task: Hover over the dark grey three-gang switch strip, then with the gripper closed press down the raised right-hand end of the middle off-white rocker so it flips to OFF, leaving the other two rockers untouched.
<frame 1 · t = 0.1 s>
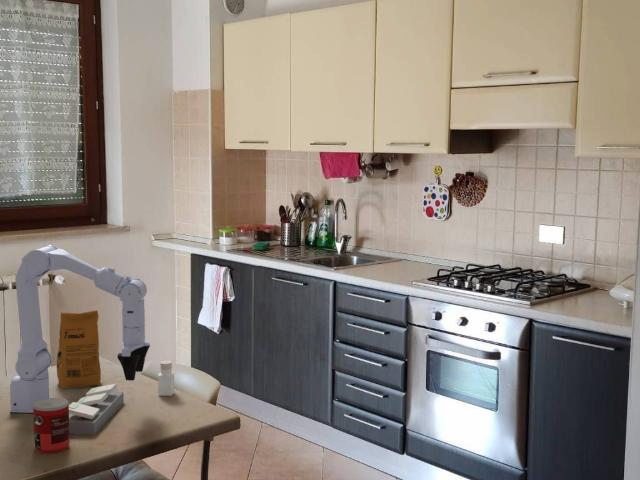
hand: (134, 375, 211), 10 cm above the table, tool pointing down, fingers open, 7 cm apart
pepper shaker: (166, 395, 227), on the table
canned food: (52, 448, 188), on the table
rocker 1: (82, 412, 200), point 4 cm above the table, hinge at 13.0°
coffee package: (79, 384, 236), on the table
rocker 2: (92, 401, 208), point 4 cm above the table, hinge at -13.0°
rocker 3: (102, 392, 216), point 4 cm above the table, hinge at -13.0°
switch strip: (92, 416, 208), on the table
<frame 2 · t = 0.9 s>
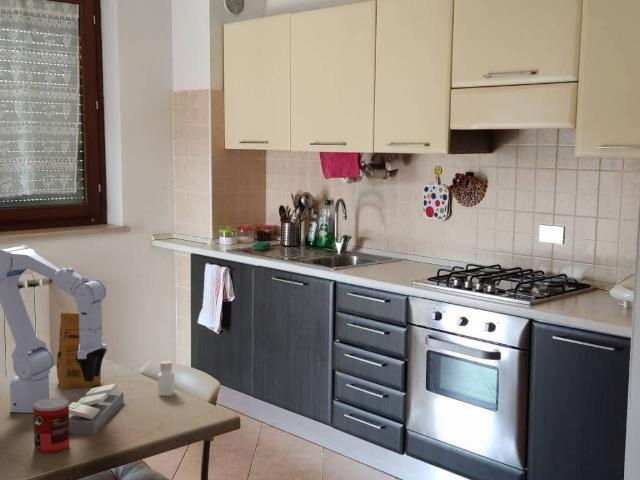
hand: (92, 378, 207), 10 cm above the table, tool pointing down, fingers open, 4 cm apart
nothing on the table moved.
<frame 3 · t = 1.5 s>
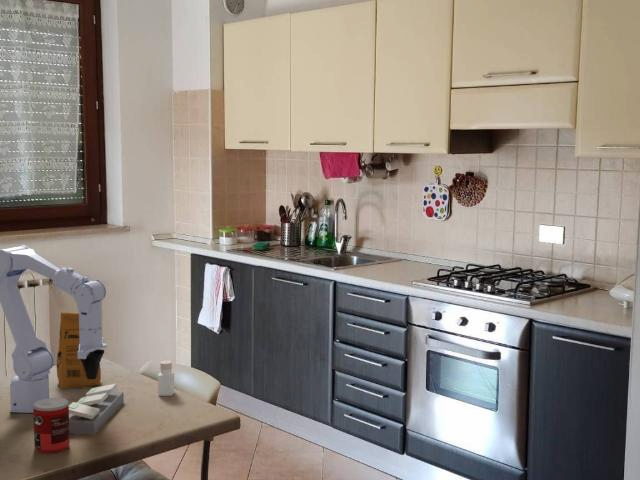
hand: (92, 378, 207), 10 cm above the table, tool pointing down, fingers closed
nothing on the table moved.
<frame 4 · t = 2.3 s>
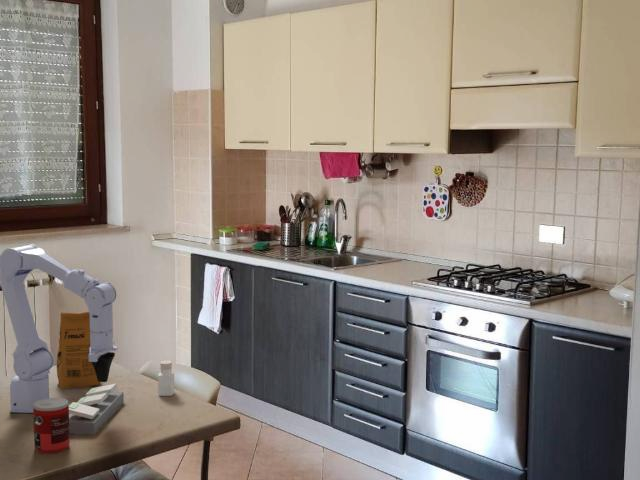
hand: (102, 381, 207), 10 cm above the table, tool pointing down, fingers closed
nothing on the table moved.
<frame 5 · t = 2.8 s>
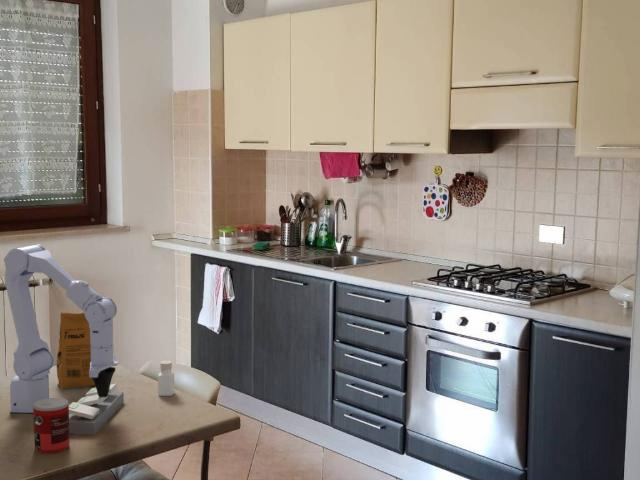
hand: (103, 396, 207), 6 cm above the table, tool pointing down, fingers closed, pressing on rocker 2
rocker 2: (92, 401, 208), point 4 cm above the table, hinge at -12.9°, touching gripper
everything else where it was.
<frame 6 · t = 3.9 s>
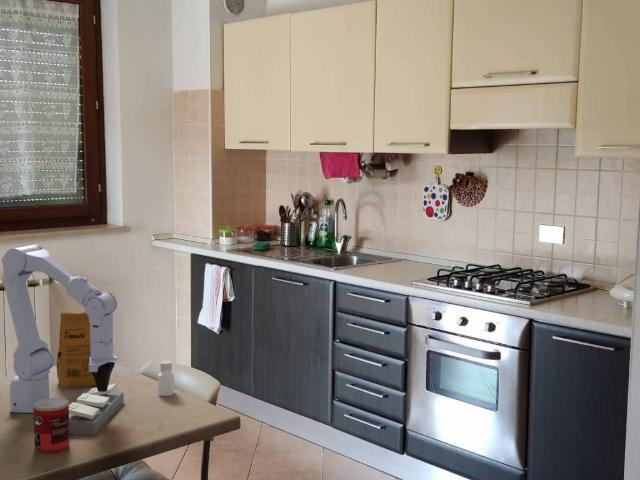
hand: (102, 390, 207), 7 cm above the table, tool pointing down, fingers closed
rocker 2: (92, 401, 208), point 4 cm above the table, hinge at 8.3°
everything else where it was.
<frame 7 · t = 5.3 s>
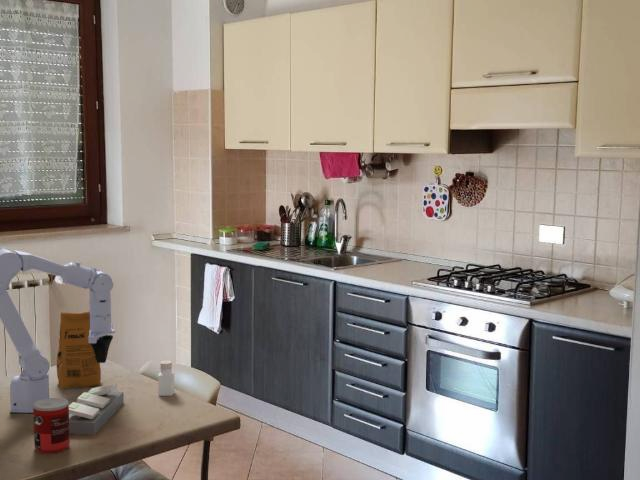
hand: (101, 362, 222), 10 cm above the table, tool pointing down, fingers closed
rocker 2: (93, 401, 208), point 4 cm above the table, hinge at 12.6°
everything else where it was.
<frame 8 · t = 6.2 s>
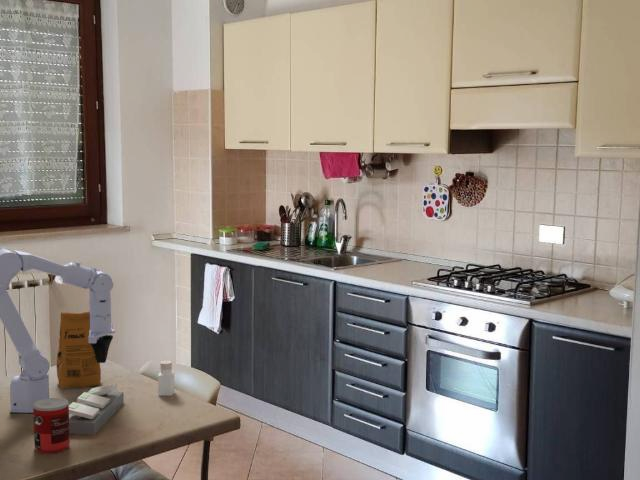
hand: (101, 362, 222), 10 cm above the table, tool pointing down, fingers closed
rocker 2: (93, 401, 208), point 4 cm above the table, hinge at 13.2°
everything else where it was.
at the end: rocker 2 at +13° (first picture: -13°); rocker 1 at +13° (first picture: +13°); rocker 3 at -13° (first picture: -13°) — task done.
